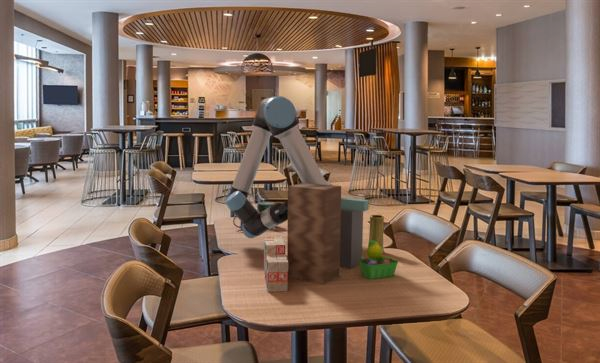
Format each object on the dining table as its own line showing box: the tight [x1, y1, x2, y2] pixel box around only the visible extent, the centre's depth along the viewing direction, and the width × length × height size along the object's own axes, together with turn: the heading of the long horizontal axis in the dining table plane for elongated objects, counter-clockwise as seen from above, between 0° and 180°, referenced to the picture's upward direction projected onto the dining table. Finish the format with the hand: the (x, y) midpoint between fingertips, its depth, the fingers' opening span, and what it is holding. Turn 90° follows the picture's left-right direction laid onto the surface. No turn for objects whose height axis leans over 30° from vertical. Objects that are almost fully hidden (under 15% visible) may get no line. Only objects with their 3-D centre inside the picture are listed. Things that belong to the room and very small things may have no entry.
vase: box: [368, 214, 385, 254], centre depth 207 cm, size 6×6×14 cm
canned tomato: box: [257, 201, 276, 213], centre depth 255 cm, size 8×8×11 cm
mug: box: [232, 215, 243, 231], centre depth 246 cm, size 7×10×7 cm
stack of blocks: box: [263, 236, 289, 293], centre depth 171 cm, size 21×6×12 cm, turn 7°
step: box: [340, 209, 364, 269], centre depth 191 cm, size 12×9×20 cm
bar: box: [341, 196, 370, 212], centre depth 192 cm, size 26×4×4 cm, turn 58°
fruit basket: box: [359, 240, 399, 280], centre depth 178 cm, size 11×9×11 cm
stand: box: [286, 182, 342, 285], centre depth 174 cm, size 14×10×30 cm
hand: (317, 191), depth 195 cm, fingers open, 12 cm apart
